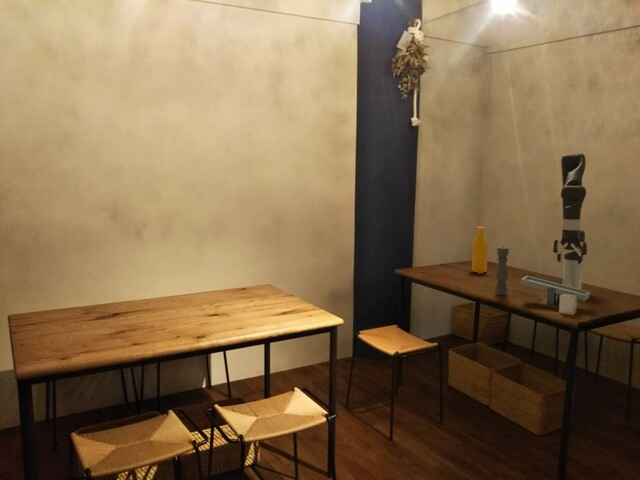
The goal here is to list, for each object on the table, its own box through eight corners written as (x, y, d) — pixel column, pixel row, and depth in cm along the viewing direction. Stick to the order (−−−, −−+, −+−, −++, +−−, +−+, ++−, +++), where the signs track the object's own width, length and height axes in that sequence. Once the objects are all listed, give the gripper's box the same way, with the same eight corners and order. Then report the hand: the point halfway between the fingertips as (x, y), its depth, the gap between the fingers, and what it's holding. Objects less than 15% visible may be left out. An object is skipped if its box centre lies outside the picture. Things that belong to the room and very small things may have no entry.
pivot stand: (545, 300, 267) (546, 282, 266) (567, 303, 261) (568, 285, 260) (538, 305, 258) (539, 287, 256) (560, 309, 252) (561, 290, 250)
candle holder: (508, 295, 278) (510, 248, 275) (495, 295, 280) (497, 248, 276) (506, 292, 284) (508, 246, 281) (494, 292, 286) (496, 246, 282)
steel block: (562, 310, 250) (563, 293, 249) (576, 312, 247) (577, 295, 246) (559, 312, 246) (559, 296, 244) (572, 315, 242) (573, 298, 241)
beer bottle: (469, 270, 342) (470, 226, 338) (483, 270, 343) (484, 226, 339) (475, 273, 333) (476, 228, 329) (489, 273, 334) (490, 227, 330)
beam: (525, 280, 271) (526, 275, 270) (588, 297, 253) (590, 291, 252) (520, 283, 264) (521, 278, 263) (584, 301, 246) (586, 295, 245)
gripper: (589, 229, 246) (587, 263, 248) (557, 227, 255) (555, 260, 257) (586, 230, 240) (583, 265, 242) (553, 228, 249) (551, 262, 251)
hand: (569, 262), depth 249 cm, fingers open, 8 cm apart
